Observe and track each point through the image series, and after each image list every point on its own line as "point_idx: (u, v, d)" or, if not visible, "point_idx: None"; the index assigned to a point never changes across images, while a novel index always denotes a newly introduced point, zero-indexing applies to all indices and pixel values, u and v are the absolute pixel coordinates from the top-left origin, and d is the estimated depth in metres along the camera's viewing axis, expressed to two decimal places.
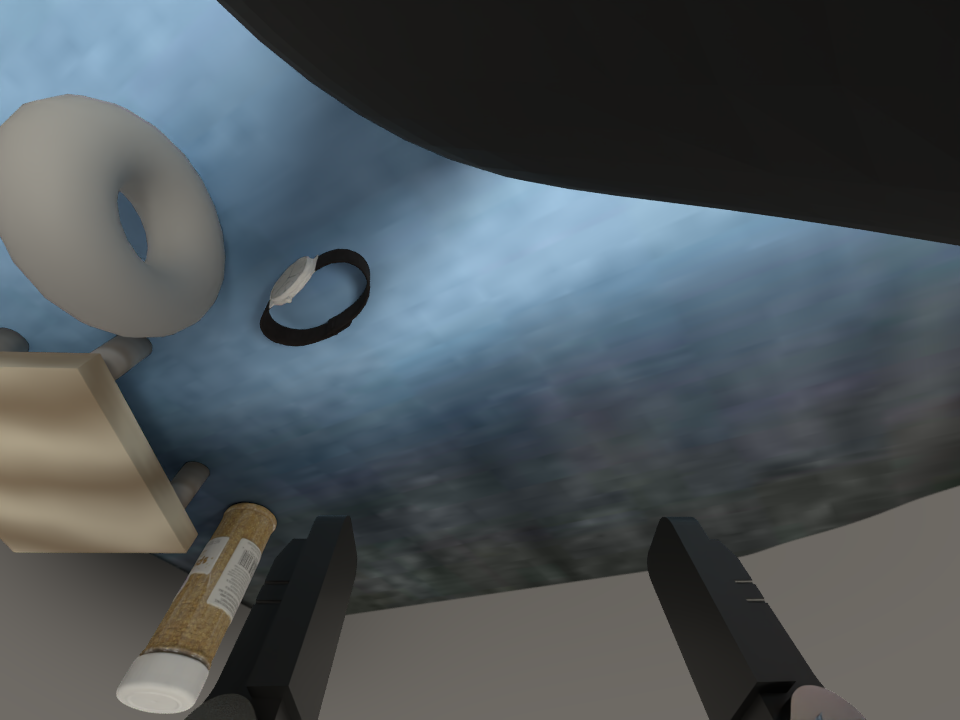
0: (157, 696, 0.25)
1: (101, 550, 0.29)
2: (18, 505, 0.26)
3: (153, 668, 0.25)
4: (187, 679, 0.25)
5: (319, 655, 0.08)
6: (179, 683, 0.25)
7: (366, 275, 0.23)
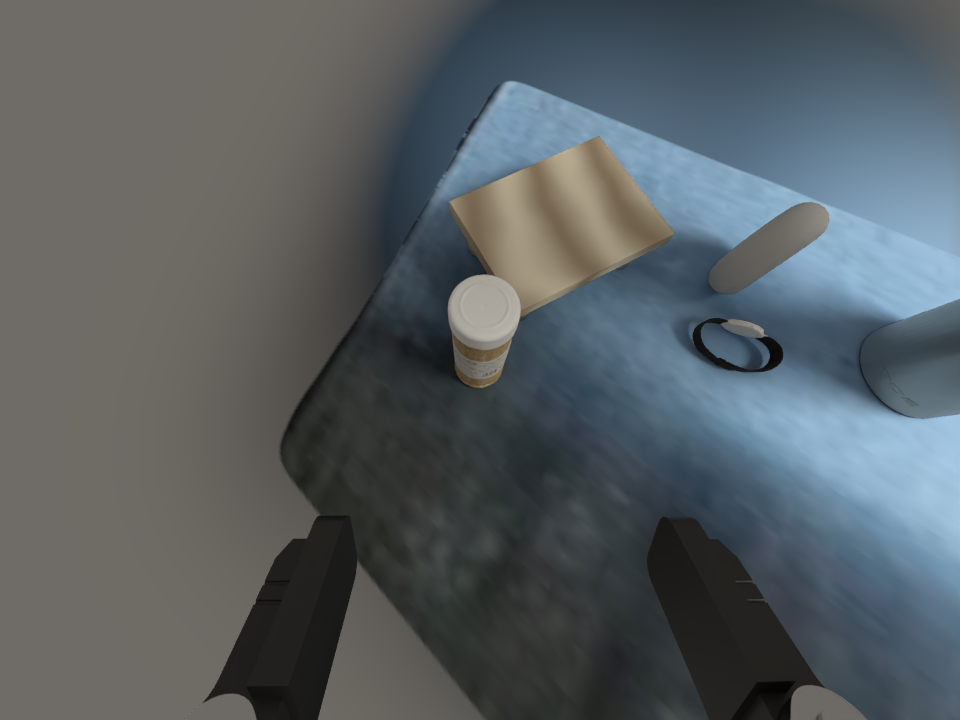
0: (501, 306, 0.24)
1: (485, 254, 0.34)
2: (517, 205, 0.35)
3: None
4: (515, 328, 0.25)
5: (319, 656, 0.08)
6: (518, 322, 0.25)
7: (777, 364, 0.36)
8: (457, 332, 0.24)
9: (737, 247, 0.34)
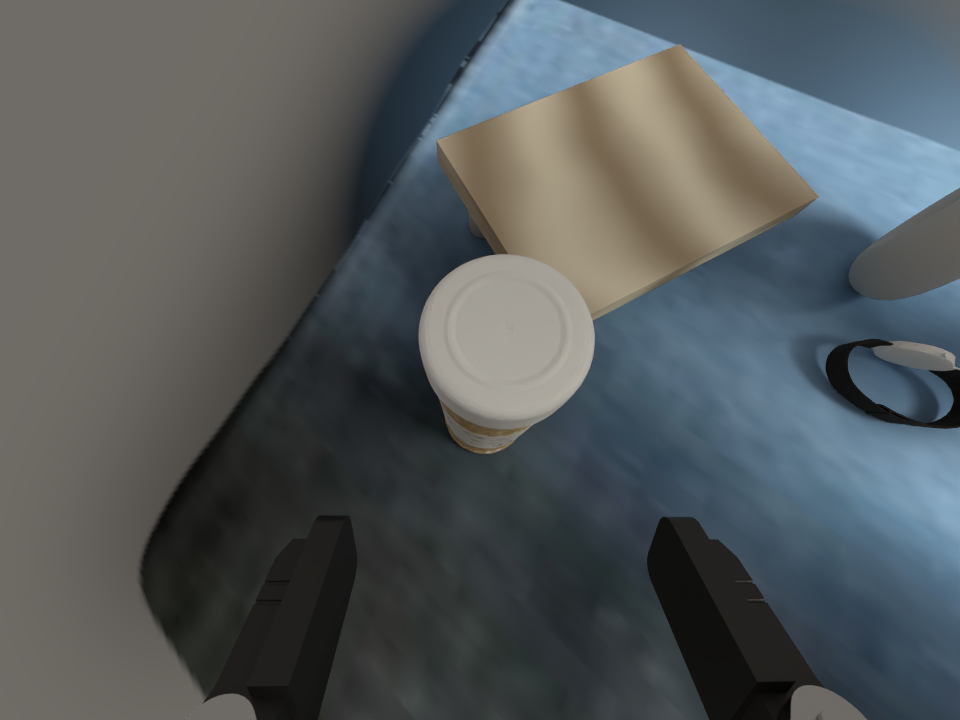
0: (548, 331, 0.10)
1: (499, 229, 0.19)
2: (551, 148, 0.21)
3: None
4: None
5: (319, 656, 0.08)
6: (588, 369, 0.10)
7: None
8: (441, 393, 0.10)
9: (935, 219, 0.20)
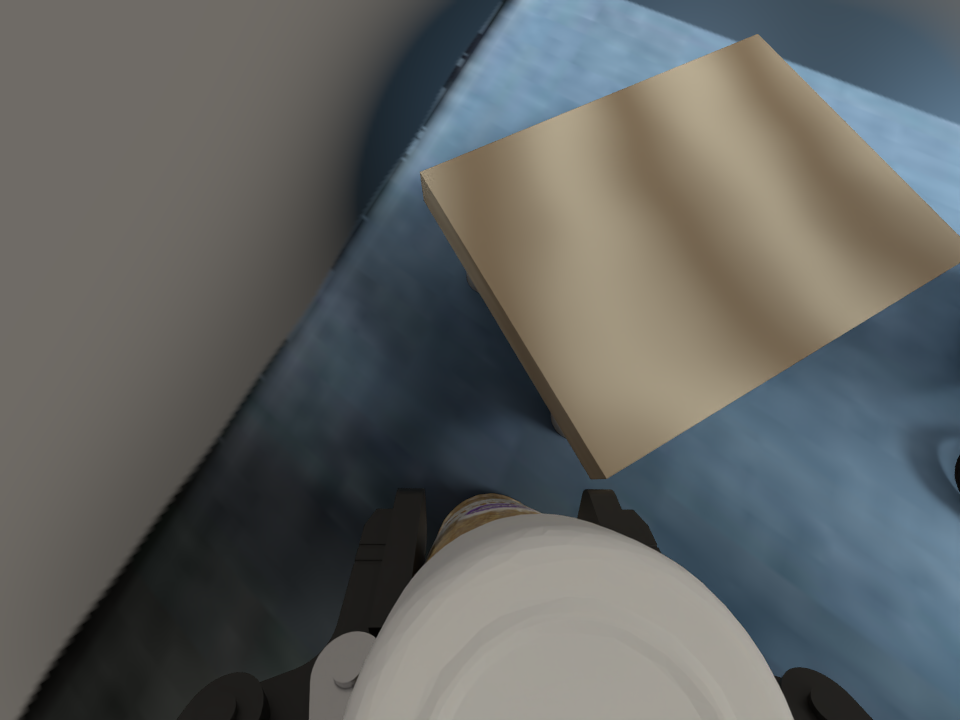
0: None
1: (512, 309, 0.13)
2: (586, 183, 0.14)
3: None
4: None
5: None
6: None
7: None
8: None
9: None
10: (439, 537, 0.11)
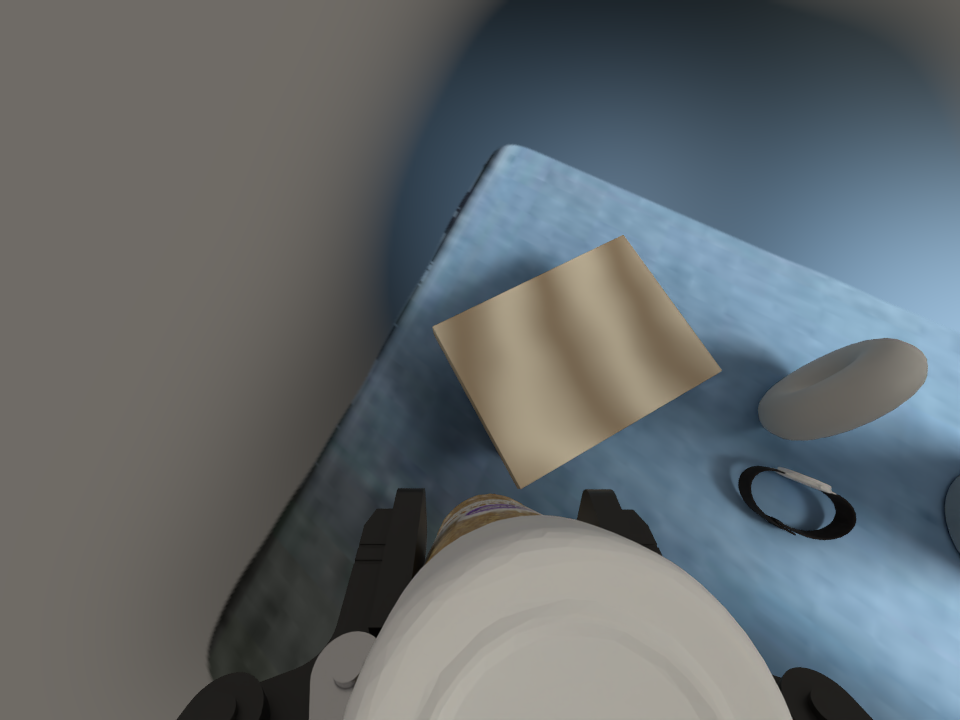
0: None
1: (479, 403, 0.26)
2: (520, 332, 0.27)
3: None
4: None
5: None
6: None
7: (849, 530, 0.29)
8: None
9: (804, 395, 0.26)
10: (438, 538, 0.11)
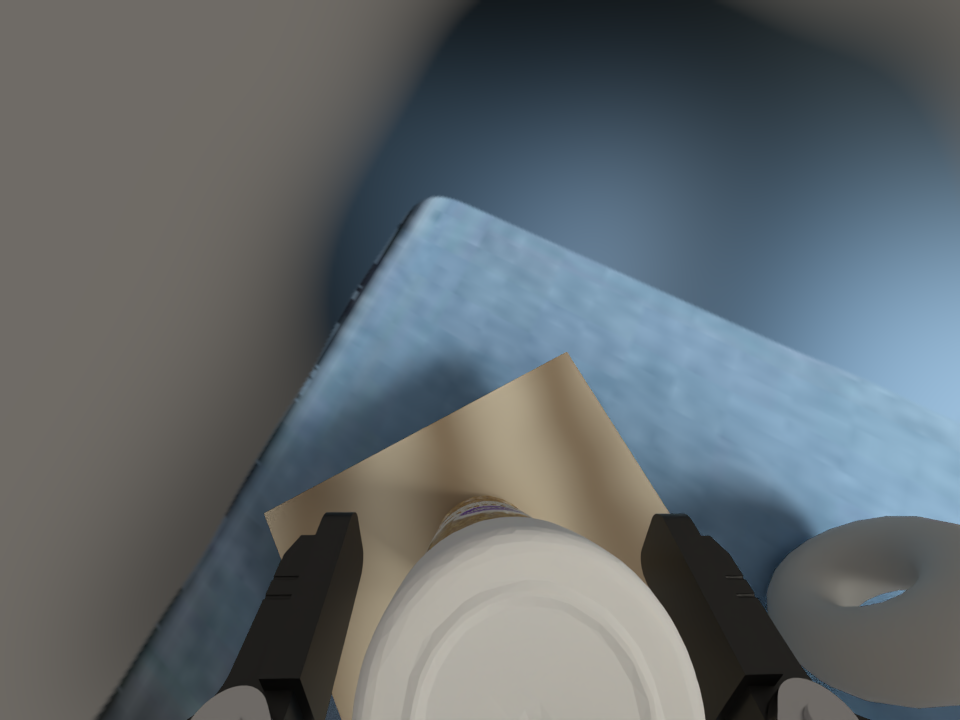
0: None
1: None
2: (400, 519, 0.18)
3: None
4: None
5: (328, 650, 0.08)
6: None
7: None
8: None
9: (842, 632, 0.17)
10: (436, 535, 0.12)
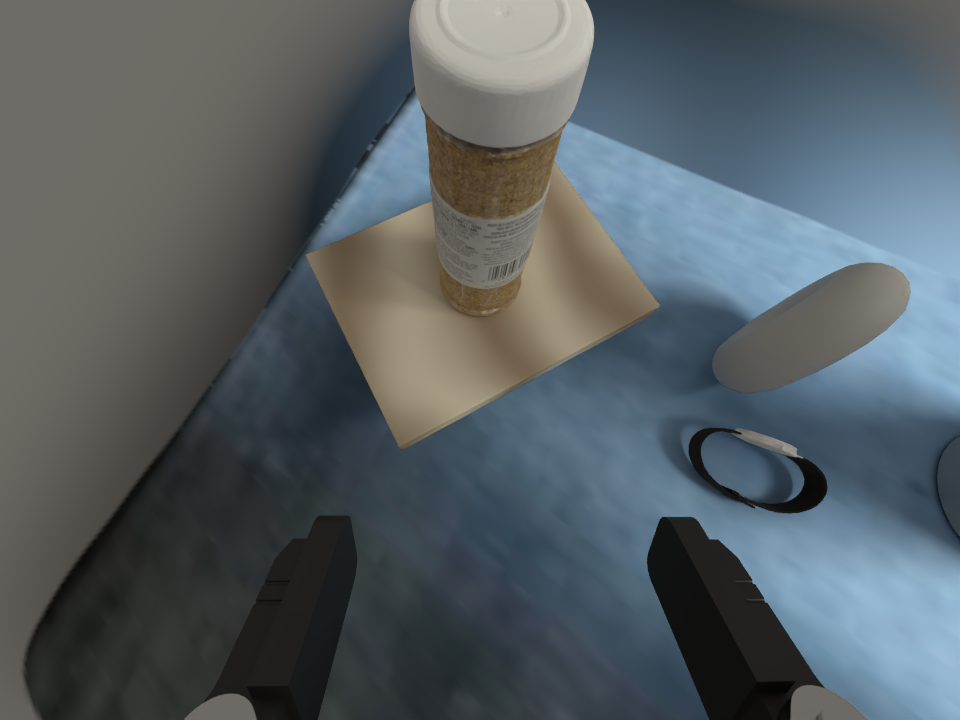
0: (545, 15, 0.10)
1: (355, 344, 0.21)
2: (413, 261, 0.22)
3: None
4: (578, 83, 0.10)
5: (319, 655, 0.08)
6: (587, 63, 0.10)
7: (819, 501, 0.24)
8: (432, 80, 0.10)
9: (759, 332, 0.21)
10: None
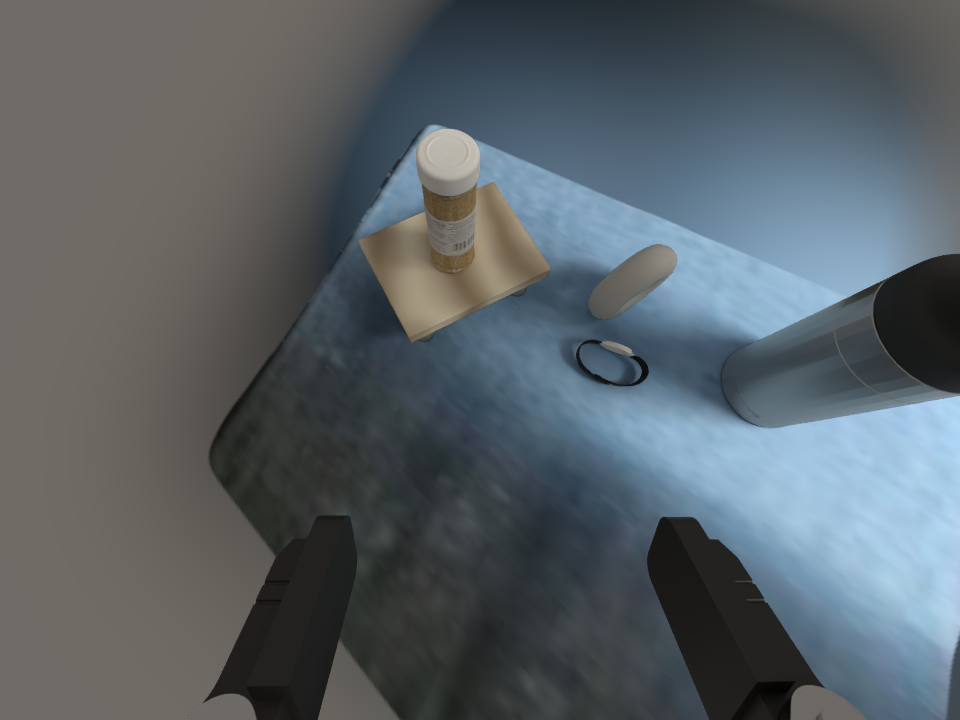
0: (462, 153, 0.28)
1: (385, 287, 0.39)
2: (416, 244, 0.41)
3: None
4: (474, 174, 0.28)
5: (319, 655, 0.08)
6: (477, 168, 0.28)
7: (644, 379, 0.42)
8: (423, 175, 0.28)
9: (601, 281, 0.40)
10: None
